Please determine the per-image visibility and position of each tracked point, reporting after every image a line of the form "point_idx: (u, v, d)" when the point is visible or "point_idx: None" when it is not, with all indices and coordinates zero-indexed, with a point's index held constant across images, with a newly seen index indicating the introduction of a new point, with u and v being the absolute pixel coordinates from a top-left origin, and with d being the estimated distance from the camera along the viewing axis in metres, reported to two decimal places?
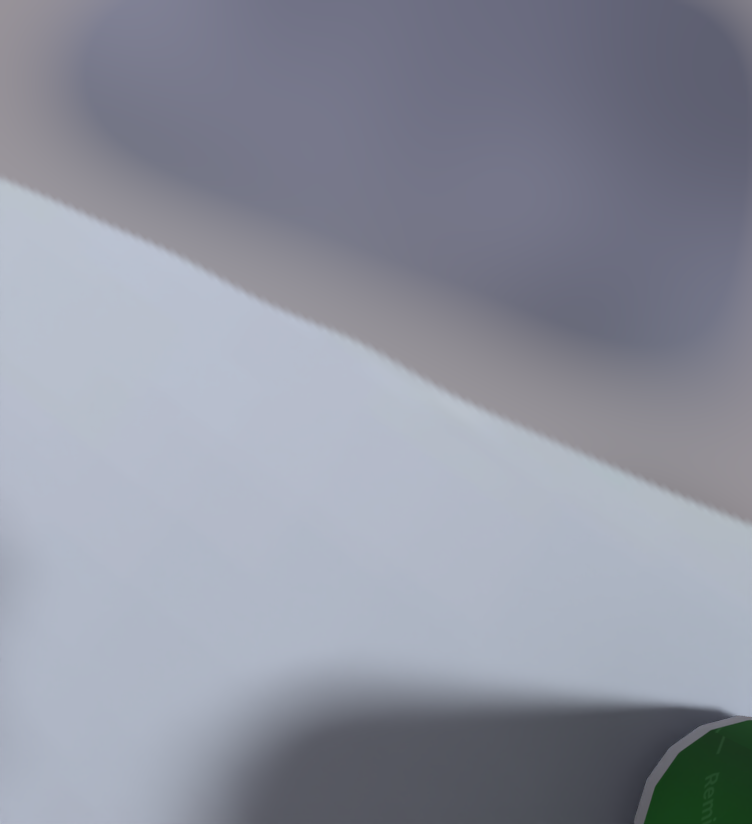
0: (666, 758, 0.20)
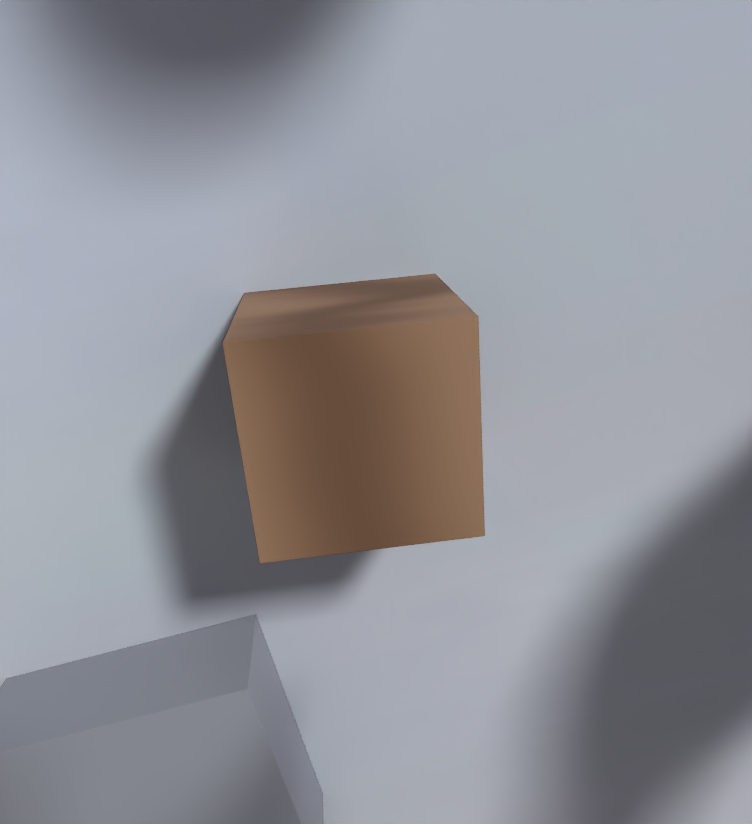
0: None
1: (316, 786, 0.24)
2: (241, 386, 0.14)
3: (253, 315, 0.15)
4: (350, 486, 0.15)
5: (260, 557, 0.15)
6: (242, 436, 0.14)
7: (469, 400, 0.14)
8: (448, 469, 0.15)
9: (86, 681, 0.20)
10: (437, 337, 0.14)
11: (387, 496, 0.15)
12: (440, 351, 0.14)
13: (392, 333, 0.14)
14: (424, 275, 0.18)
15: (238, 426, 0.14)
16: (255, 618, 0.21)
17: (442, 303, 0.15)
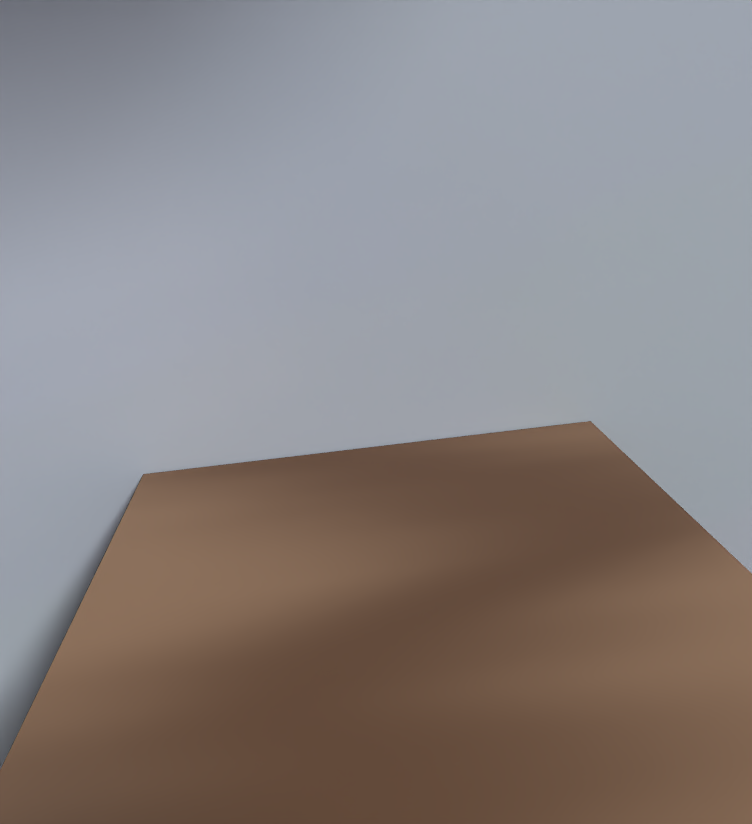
0: None
1: None
2: None
3: (120, 643, 0.05)
4: None
5: None
6: None
7: None
8: None
9: None
10: None
11: None
12: None
13: None
14: (570, 430, 0.08)
15: None
16: None
17: (739, 634, 0.04)
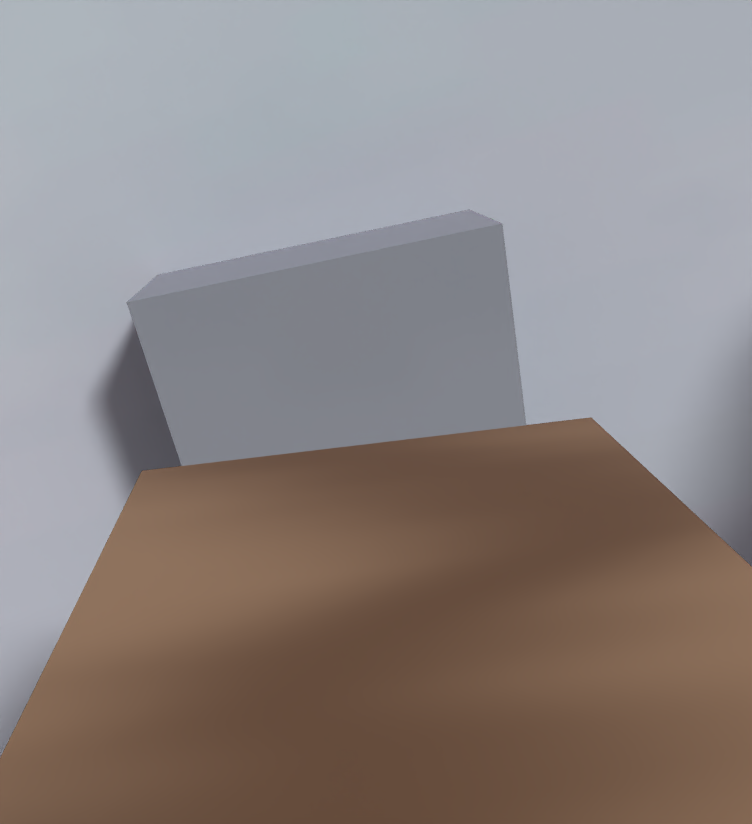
0: None
1: None
2: None
3: (118, 639, 0.05)
4: None
5: None
6: None
7: None
8: None
9: (269, 258, 0.16)
10: None
11: None
12: None
13: None
14: (571, 426, 0.08)
15: None
16: (470, 211, 0.17)
17: (742, 629, 0.04)
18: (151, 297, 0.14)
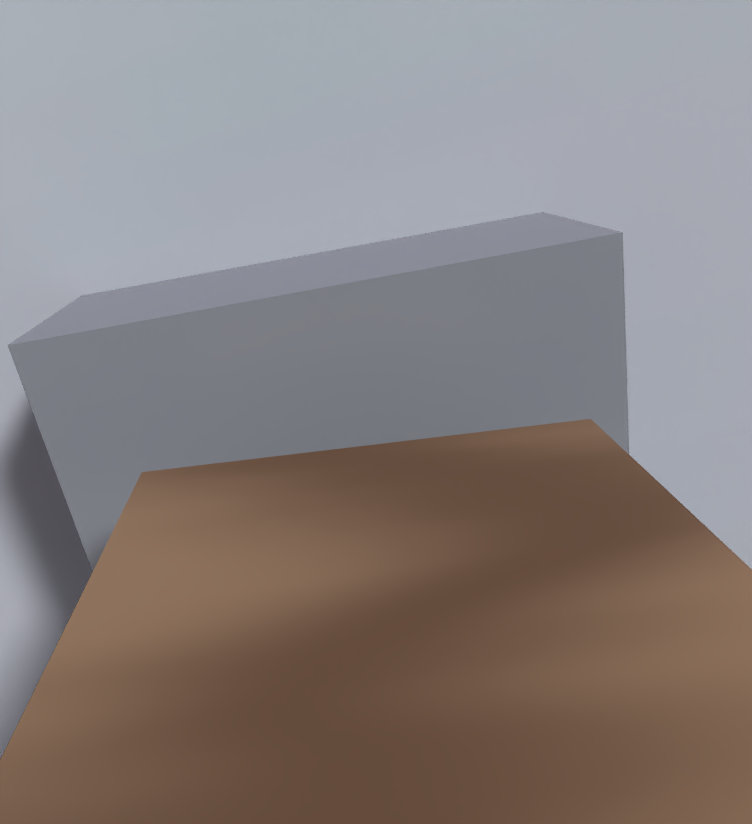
0: None
1: None
2: None
3: (117, 641, 0.05)
4: None
5: None
6: None
7: None
8: None
9: (247, 276, 0.11)
10: None
11: None
12: None
13: None
14: (570, 427, 0.08)
15: None
16: None
17: (741, 632, 0.04)
18: (49, 338, 0.09)
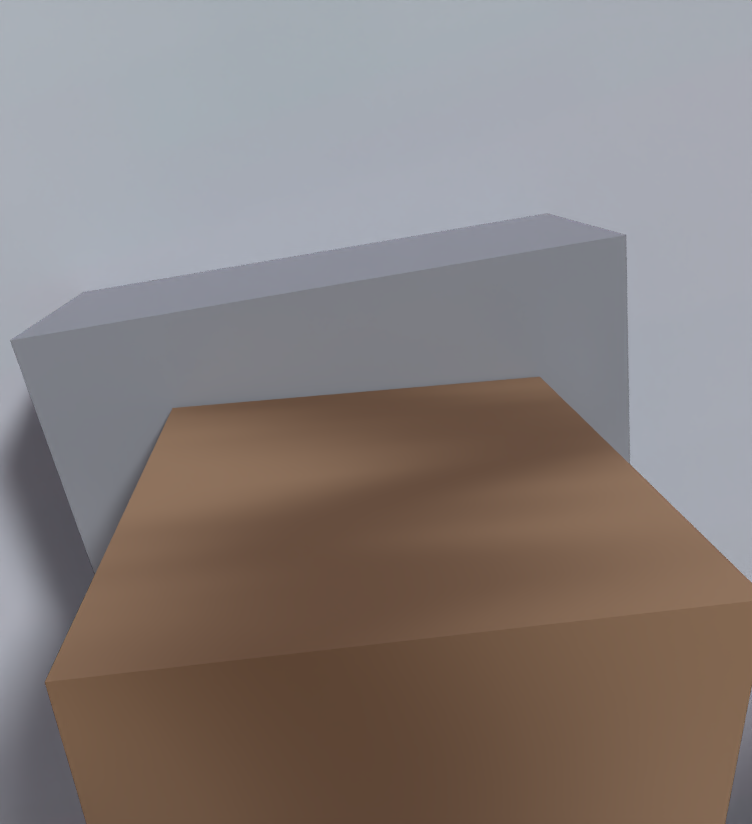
0: None
1: None
2: (106, 779, 0.05)
3: (169, 511, 0.07)
4: None
5: None
6: None
7: (706, 782, 0.06)
8: None
9: (250, 273, 0.11)
10: (650, 649, 0.05)
11: None
12: (655, 682, 0.05)
13: (532, 647, 0.05)
14: (522, 382, 0.09)
15: None
16: None
17: (621, 507, 0.06)
18: (51, 333, 0.09)
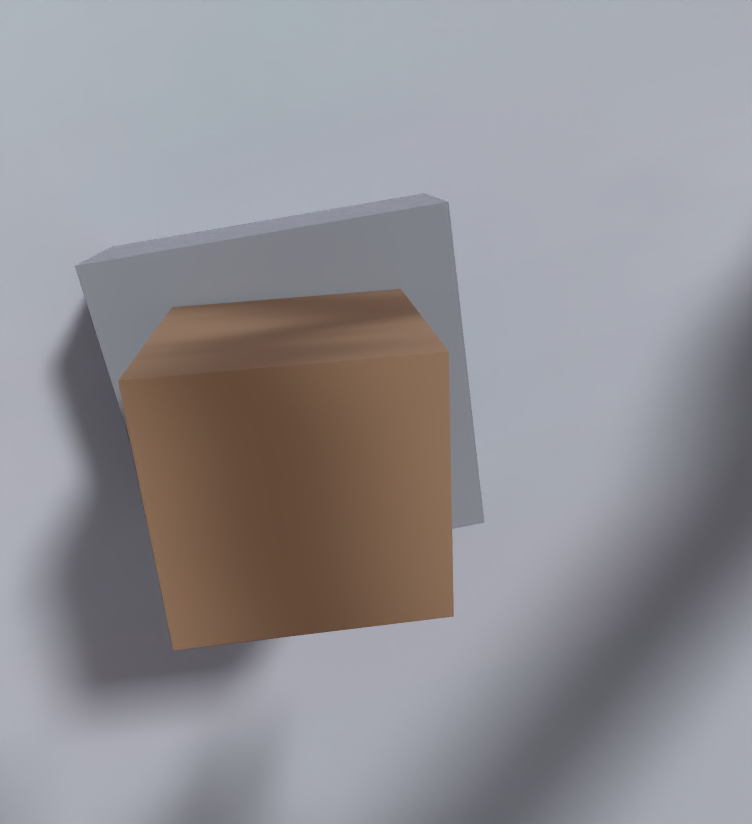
0: None
1: None
2: (144, 435, 0.11)
3: (171, 340, 0.12)
4: (286, 558, 0.12)
5: (173, 643, 0.12)
6: (146, 496, 0.11)
7: (436, 455, 0.11)
8: (408, 538, 0.12)
9: (222, 231, 0.16)
10: (395, 377, 0.11)
11: (333, 570, 0.12)
12: (401, 395, 0.11)
13: (339, 372, 0.11)
14: (388, 291, 0.15)
15: (141, 485, 0.11)
16: (424, 195, 0.18)
17: (405, 331, 0.12)
18: (99, 261, 0.14)
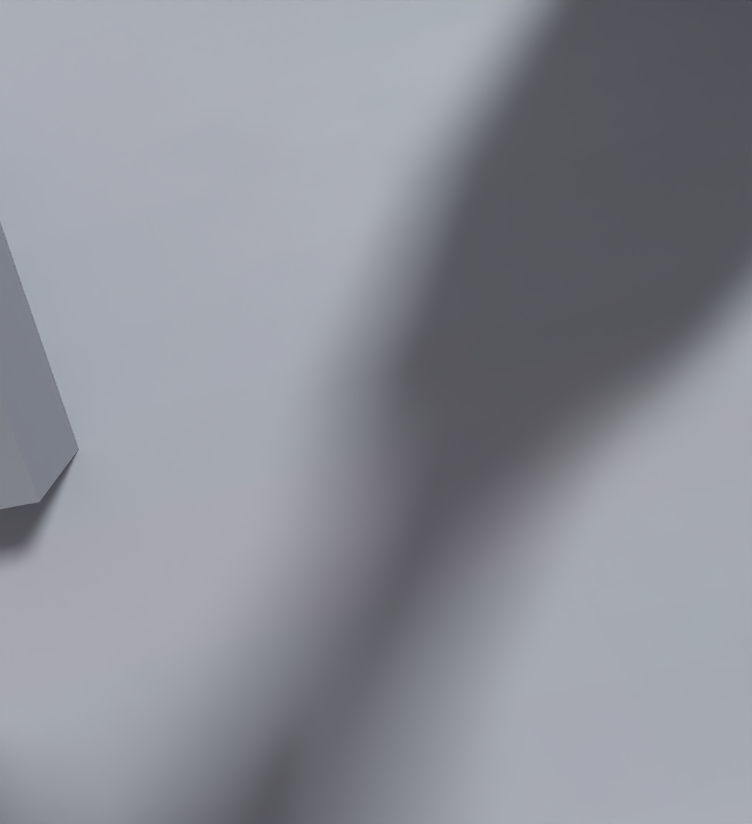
0: None
1: (64, 424, 0.19)
2: None
3: None
4: None
5: None
6: None
7: None
8: None
9: None
10: None
11: None
12: None
13: None
14: None
15: None
16: None
17: None
18: None
